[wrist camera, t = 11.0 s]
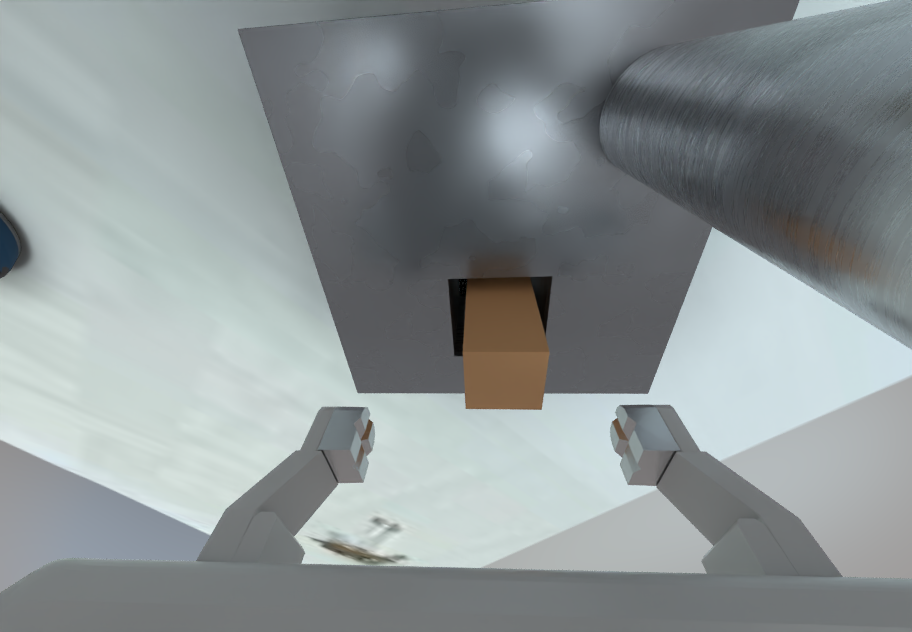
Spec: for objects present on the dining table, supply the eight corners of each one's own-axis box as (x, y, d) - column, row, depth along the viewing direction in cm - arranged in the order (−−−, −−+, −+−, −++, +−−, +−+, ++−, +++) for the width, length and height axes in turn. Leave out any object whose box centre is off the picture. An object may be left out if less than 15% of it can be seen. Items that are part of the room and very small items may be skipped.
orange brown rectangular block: (470, 285, 22) (465, 408, 13) (469, 241, 20) (462, 352, 12) (517, 284, 21) (541, 409, 13) (520, 240, 20) (549, 351, 12)
